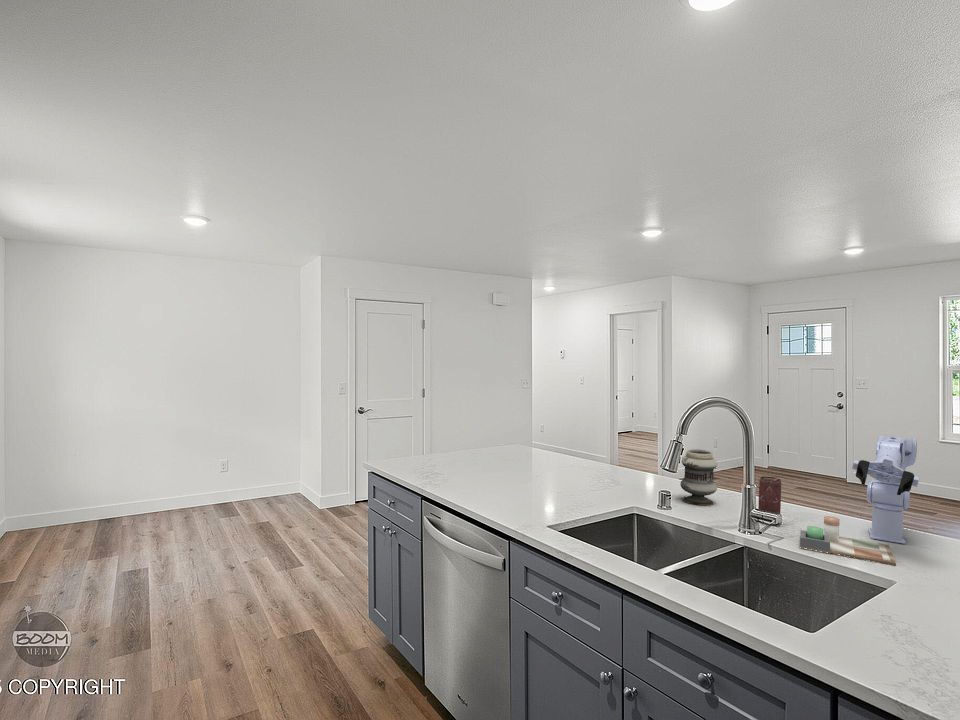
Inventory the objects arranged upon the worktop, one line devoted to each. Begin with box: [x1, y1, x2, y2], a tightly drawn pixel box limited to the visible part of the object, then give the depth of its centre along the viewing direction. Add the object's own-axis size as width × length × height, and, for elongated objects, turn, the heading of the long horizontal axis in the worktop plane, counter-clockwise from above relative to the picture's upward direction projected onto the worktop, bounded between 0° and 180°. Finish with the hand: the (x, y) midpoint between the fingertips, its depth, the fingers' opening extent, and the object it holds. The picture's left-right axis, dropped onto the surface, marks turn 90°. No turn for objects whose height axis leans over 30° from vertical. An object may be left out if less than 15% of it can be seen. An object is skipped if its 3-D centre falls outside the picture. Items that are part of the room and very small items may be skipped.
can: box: [757, 476, 782, 515], centre depth 170 cm, size 6×6×14 cm
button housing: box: [799, 530, 830, 552], centre depth 149 cm, size 7×7×2 cm
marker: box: [823, 515, 840, 541], centre depth 154 cm, size 4×4×6 cm
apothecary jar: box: [680, 448, 718, 507], centre depth 192 cm, size 12×12×18 cm
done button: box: [806, 525, 824, 540], centre depth 149 cm, size 4×4×3 cm
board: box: [799, 529, 897, 567], centre depth 149 cm, size 16×21×1 cm
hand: (881, 486), depth 142 cm, fingers open, 7 cm apart
